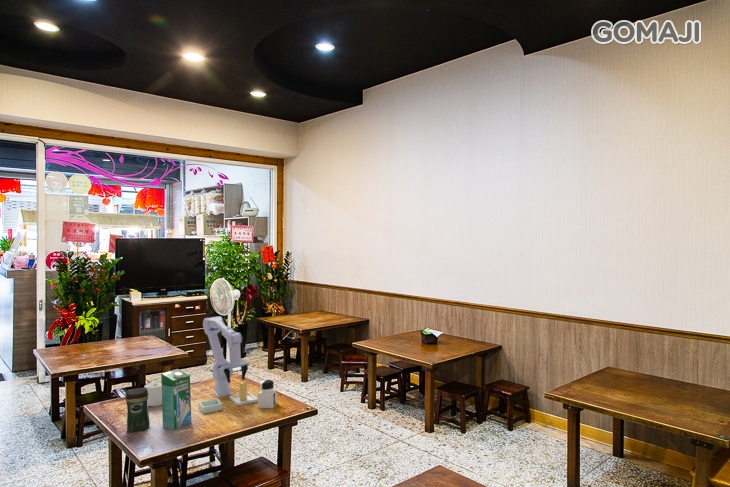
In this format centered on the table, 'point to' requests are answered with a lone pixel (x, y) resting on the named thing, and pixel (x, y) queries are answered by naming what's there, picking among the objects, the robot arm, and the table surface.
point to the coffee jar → (137, 409)
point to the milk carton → (176, 399)
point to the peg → (243, 391)
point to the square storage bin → (210, 406)
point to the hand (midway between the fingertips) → (236, 381)
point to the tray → (237, 401)
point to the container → (267, 395)
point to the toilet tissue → (154, 393)
